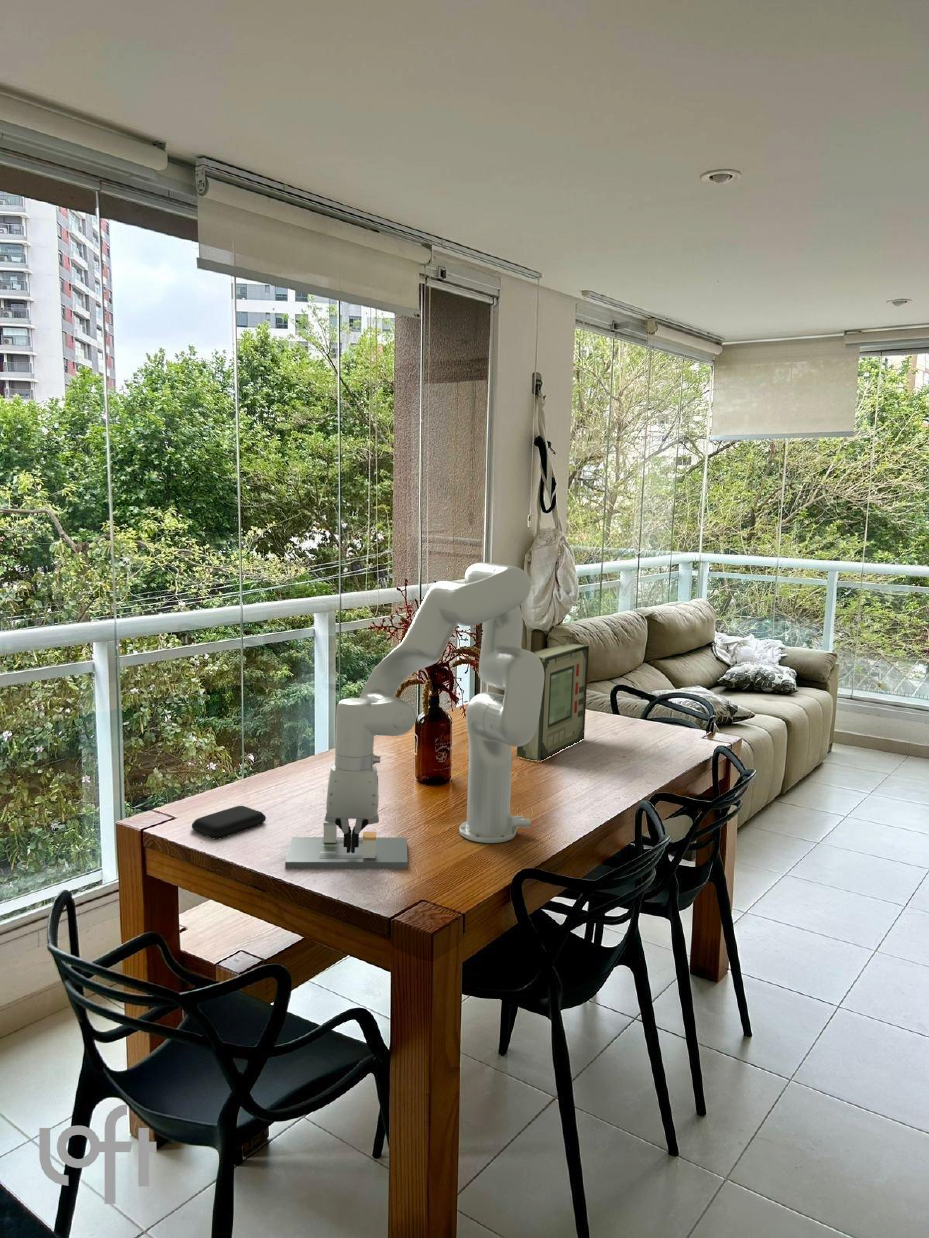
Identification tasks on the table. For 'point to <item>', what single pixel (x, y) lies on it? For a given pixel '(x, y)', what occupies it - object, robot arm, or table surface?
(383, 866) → the grey slotted panel
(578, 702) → the control panel
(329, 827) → the breaker
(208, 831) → the carrying case or bag
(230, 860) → the table surface
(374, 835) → the block
